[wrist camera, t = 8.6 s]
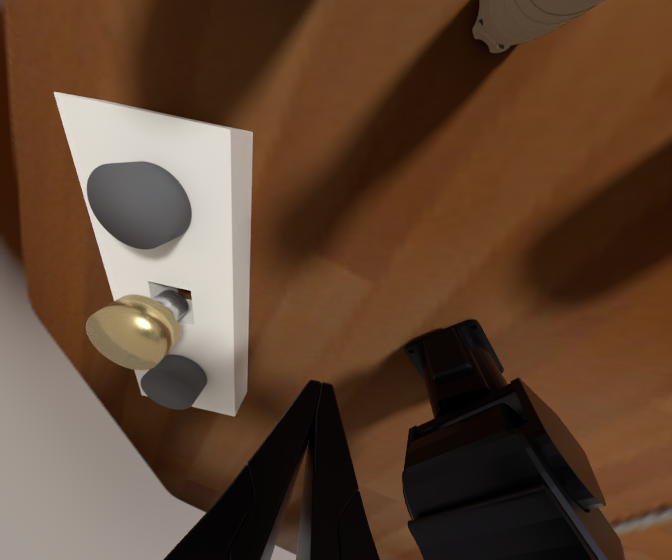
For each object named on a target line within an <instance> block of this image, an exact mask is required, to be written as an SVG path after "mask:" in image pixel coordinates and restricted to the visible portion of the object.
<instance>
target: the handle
mask: <svg viewBox="0 0 672 560" xmlns="http://www.w3.org/2000/svg"><path fill="white" fill-rule="evenodd" d="M603 1H604V0H479V13H478V17H477V20H476V23H475V25H474V27H473V29H472V31H473V35H474V38H475V39H480V40H482V41H484V42H485V43H486V44H487V45H488V47H489V51H490V52H491V53H500V52H503V51H505V50H507V49H508V48H509V47H510V46H511V45H516V44H521V43H524V42H528V41H530V40H533V39H535V38H538V37H540V36H543V35H545V34H547V33H549V32H551V31H553V30H554V29H557V28H559V27H560V26H562V25H564V24H566V23H568V22H569V21H571V20H573V19H575V18H576V17H578V16H580V15H581V14H583V13H585V12H586V11H588V10H590V9H591V8H593V7H595V6H596V5H598V4H599V3H601V2H603Z"/></svg>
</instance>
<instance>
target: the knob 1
mask: <svg viewBox="0 0 672 560" xmlns="http://www.w3.org/2000/svg"><path fill="white" fill-rule="evenodd" d="M87 197H88V201H89V204H90V207H91V209H92V211H93V213H94V215H95V217H96V218H97V220H98V221H99V222H100V224H101V225H102V226H103V227H104V228H105V229H106V230H107V232H109V233H110V234H111V235H112V236H113V237H115V238H116V239H117V240H119V241H120V242H122V243H124V244H126V245H128V246H131V247H134V248H137V249H153V248H156V247H158V246H160V245H162V244H165V243H167V242H169V241H171V240H173V239H175V238H177V237H179V236H181V235H183V234H184V233H185V232H186V231H187V229H188V228H189V226H190V223H191V218H192V210H191V205H190V201H189V198H188V196H187V194H186V192H185V190H184V188H183V187H182V185H181V184H180V183H179V180H177V179H176V178H175V177H174V176H173V175H172V174H171V173H169V172H168V171H167V170H165V169H164V168H162V167H160V166H158V165H156V164H154V163H150V162H145V161H137V162H122V163H108V164H103V165H100V166H98V167H97V168H95V169H94V170H93V171H92V172H91V174H90V176H89V178H88V181H87Z"/></svg>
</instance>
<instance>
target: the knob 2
mask: <svg viewBox="0 0 672 560" xmlns="http://www.w3.org/2000/svg"><path fill="white" fill-rule="evenodd" d="M206 384H207V376H206V374H205V372H204V371H203V369H202V368H201V367H200V366H199V364H196V363H195V362H194V361H192V360H190V359H188V358H186V357H183V356H180V355H166V356H165V357H164V358H163V359H162V360H161V361H160V362H159V363H158V364H157V365H156V366H155V367H154V368H151V369H150V370H149V371H148V372H147V373H146V374H145V375H144V376H143V377H142V378H141V387H142V389H143V391H144V392H145V394H146V395H147V396H148V397H149V398H150V399H152V400H153V401H154V402H156V403H158V404H160V405H162V406H164V407H167V408H170V409H175V410H184V409H187V408H190V407H191V406H192V405H193V404H194V402H195V401H196V399H197V398H198V396H199V395H200V393H201V392H202V390H203V389H204V387H205V386H206Z"/></svg>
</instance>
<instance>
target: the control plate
mask: <svg viewBox="0 0 672 560" xmlns="http://www.w3.org/2000/svg"><path fill="white" fill-rule="evenodd" d="M54 95H55V98H56V102H57V105H58V109H59V112H60V115H61V119H62V122H63V126H64V129H65V133H66V136H67V140H68V143H69V146H70V150H71V153H72V157H73V160H74V164H75V167H76V171H77V174H78V177H79V181H80V184H81V188H82V191H83V195H84V198H85V202H86V205H87V208H88V212H89V215H90V219H91V222H92V226H93V229H94V233H95V236H96V239H97V243H98V246H99V250H100V253H101V257H102V260H103V264H104V267H105V270H106V274H107V277H108V281H109V284H110V288H111V291H112V295H113V298H114V301H116V300H117V299H119V298H121V297H123V296H125V295H131V294H135V295H142V296H146V297H148V298H151V299H152V298H154V297H155V296H156V295H158V294H159V293H161V292H162V291H164V290H173V291H176V292H178V288H181V289H185V290H190V291H191V296H192V300H189V299H186V301H187V303H188V311H187V312H186V313H185V314H184V315H183V316H182V317H181V318H180V319H179V320H178V321H177V322H178V324H179V326H180V330H181V338H180V341H179V342H178V344H177V345H176V346H175V347H174V348H173V349H172V350H171V351H170V352H169V353H168V354H167V355H180V356H183V357H186V358H188V359H190V360H192V361H194V362H195V363H196V364H199V366H200V367H201V368H202V369H203V371H204V372H205V374H206V376H207V384H206V386H205V387H204V389H203V390H202V392H201V393H200V395H199V396H198V398H197V399H196V401H195V402H194V404H193V405H192V406H191V407H195V408H200V409H204V410H208V411H213V412H217V413H221V414H226V415H230V416H234V417H235V415H236V413H237V411H238V409H239V407H240V405H241V403H242V401H243V399H244V397H245V395H246V393H247V378H248V332H249V285H250V239H251V193H252V147H253V132H250V131H245V130H241V129H236V128H231V127H227V126H222V125H217V124H212V123H208V122H203V121H198V120H194V119H189V118H184V117H180V116H175V115H170V114H166V113H161V112H156V111H151V110H147V109H142V108H137V107H133V106H128V105H123V104H119V103H114V102H109V101H105V100H99V99H93V98H87V97H81V96H75V95H70V94H64V93H58V92H54ZM137 161H145V162H150V163H154V164H156V165H158V166H160V167H162V168H164V169H165V170H167V171H168V172H169V173H171V174H172V175H173V176H174V177H175V178H176V179H177V180H179V183H180V184H181V185H182V187H183V188H184V190H185V192H186V194H187V196H188V198H189V201H190V205H191V210H192V218H191V223H190V226H189V228H188V229H187V231H186V232H185V233H184V234H183V235H181V236H179V237H177V238H175V239H173V240H171V241H169V242H167V243H165V244H162V245H160V246H158V247H156V248H153V249H137V248H134V247H131V246H128V245H126V244H124V243H122V242H120V241H119V240H117V239H116V238H115V237H113V236H112V235H111V234H110V233H109V232H107V230H106V229H105V228H104V227H103V226H102V225H101V224H100V222H99V221H98V220H97V218H96V217H95V215H94V213H93V211H92V209H91V207H90V204H89V201H88V197H87V181H88V178H89V176H90V174H91V172H92V171H93V170H94V169H95V168H97V167H98V166H100V165H103V164H108V163H122V162H137ZM149 370H150V369H148V370H135V374H136V377H137V381H138V384H139V388H140V391H141V394H142V395H143V396H147V395H146V394H145V392H144V391H143V389H142V387H141V378H142V377H143V376H144V375H145V374H146V373H147V372H148V371H149Z"/></svg>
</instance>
